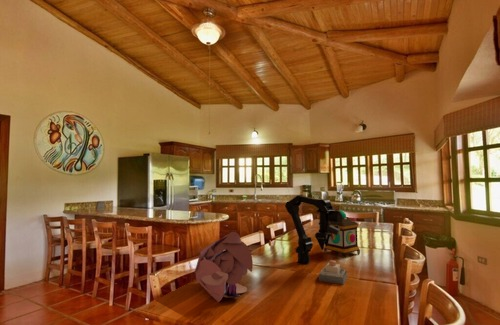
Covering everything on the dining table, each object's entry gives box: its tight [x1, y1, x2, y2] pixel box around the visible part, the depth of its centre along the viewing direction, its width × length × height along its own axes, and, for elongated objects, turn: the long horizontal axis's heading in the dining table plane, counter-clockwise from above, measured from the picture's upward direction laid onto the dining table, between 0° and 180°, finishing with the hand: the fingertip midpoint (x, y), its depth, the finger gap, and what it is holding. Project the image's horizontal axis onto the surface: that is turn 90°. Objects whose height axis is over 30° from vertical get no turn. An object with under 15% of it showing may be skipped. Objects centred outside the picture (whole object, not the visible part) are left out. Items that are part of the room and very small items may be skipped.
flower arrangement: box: [194, 231, 254, 303], centre depth 129 cm, size 35×24×28 cm
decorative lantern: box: [323, 210, 361, 259], centre depth 195 cm, size 20×20×30 cm
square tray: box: [318, 265, 348, 286], centre depth 143 cm, size 12×12×4 cm
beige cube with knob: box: [325, 259, 341, 274], centre depth 144 cm, size 6×6×6 cm
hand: (324, 247), depth 162 cm, fingers open, 9 cm apart
